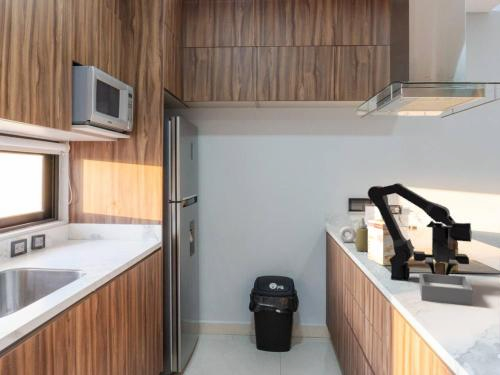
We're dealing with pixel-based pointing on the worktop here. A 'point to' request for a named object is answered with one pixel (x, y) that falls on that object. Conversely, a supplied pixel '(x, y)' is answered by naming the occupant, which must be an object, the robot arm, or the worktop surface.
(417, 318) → the worktop surface
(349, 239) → the donut
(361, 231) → the squeeze bottle
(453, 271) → the sauce bottle
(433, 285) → the box
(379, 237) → the coffeecake box
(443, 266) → the peg
